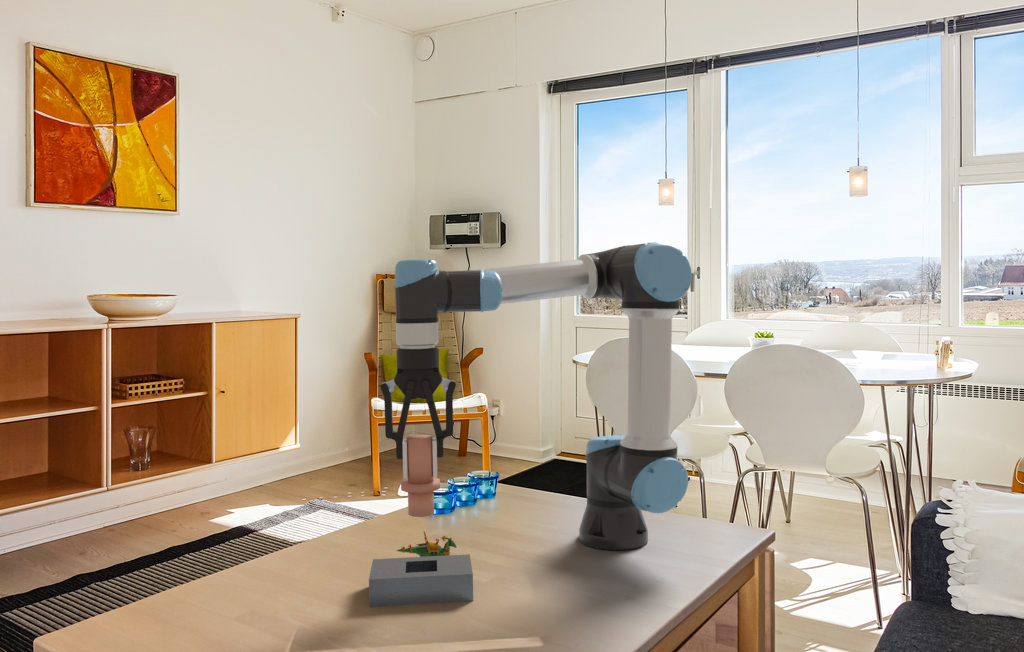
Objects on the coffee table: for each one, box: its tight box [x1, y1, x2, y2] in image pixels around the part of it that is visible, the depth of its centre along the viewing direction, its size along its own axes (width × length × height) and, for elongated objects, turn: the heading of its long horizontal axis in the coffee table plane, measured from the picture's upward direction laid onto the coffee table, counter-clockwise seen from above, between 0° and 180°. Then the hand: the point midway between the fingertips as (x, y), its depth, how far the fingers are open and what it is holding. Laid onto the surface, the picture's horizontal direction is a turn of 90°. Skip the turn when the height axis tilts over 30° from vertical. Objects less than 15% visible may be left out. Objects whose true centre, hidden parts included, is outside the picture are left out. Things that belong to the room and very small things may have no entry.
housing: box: [368, 553, 474, 608], centre depth 138 cm, size 18×10×6 cm, turn 96°
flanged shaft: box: [400, 434, 441, 518], centre depth 137 cm, size 7×7×14 cm
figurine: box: [396, 530, 458, 557], centre depth 152 cm, size 3×12×8 cm, turn 103°
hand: (420, 475), depth 137 cm, fingers closed on flanged shaft, 5 cm apart
